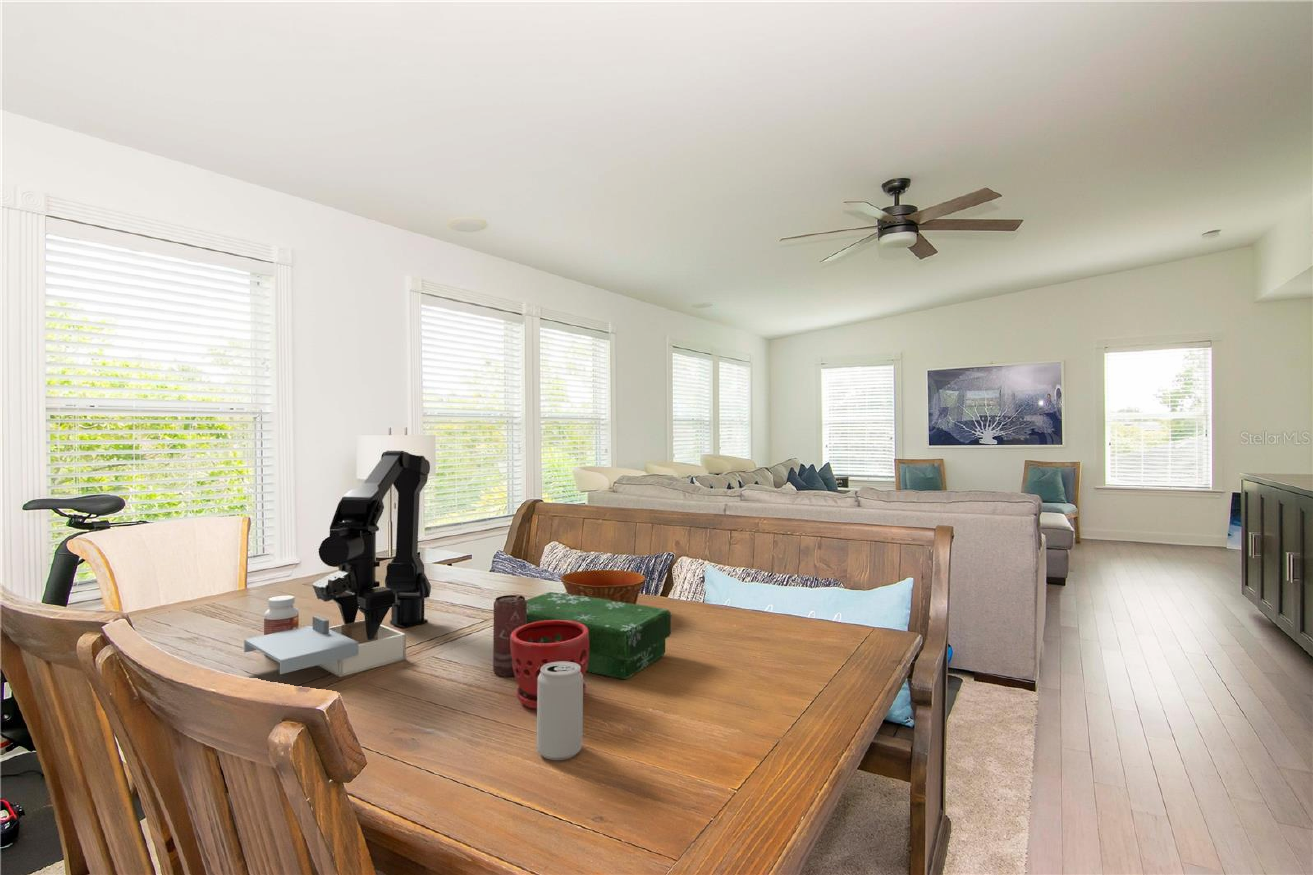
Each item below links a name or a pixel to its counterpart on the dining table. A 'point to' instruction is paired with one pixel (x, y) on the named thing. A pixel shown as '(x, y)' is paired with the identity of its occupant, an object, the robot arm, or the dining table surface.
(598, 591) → the bowl
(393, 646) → the box
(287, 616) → the pill bottle
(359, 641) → the walnut block
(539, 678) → the beverage can
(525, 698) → the plant pot
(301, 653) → the lid
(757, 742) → the dining table surface
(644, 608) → the box
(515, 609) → the can
